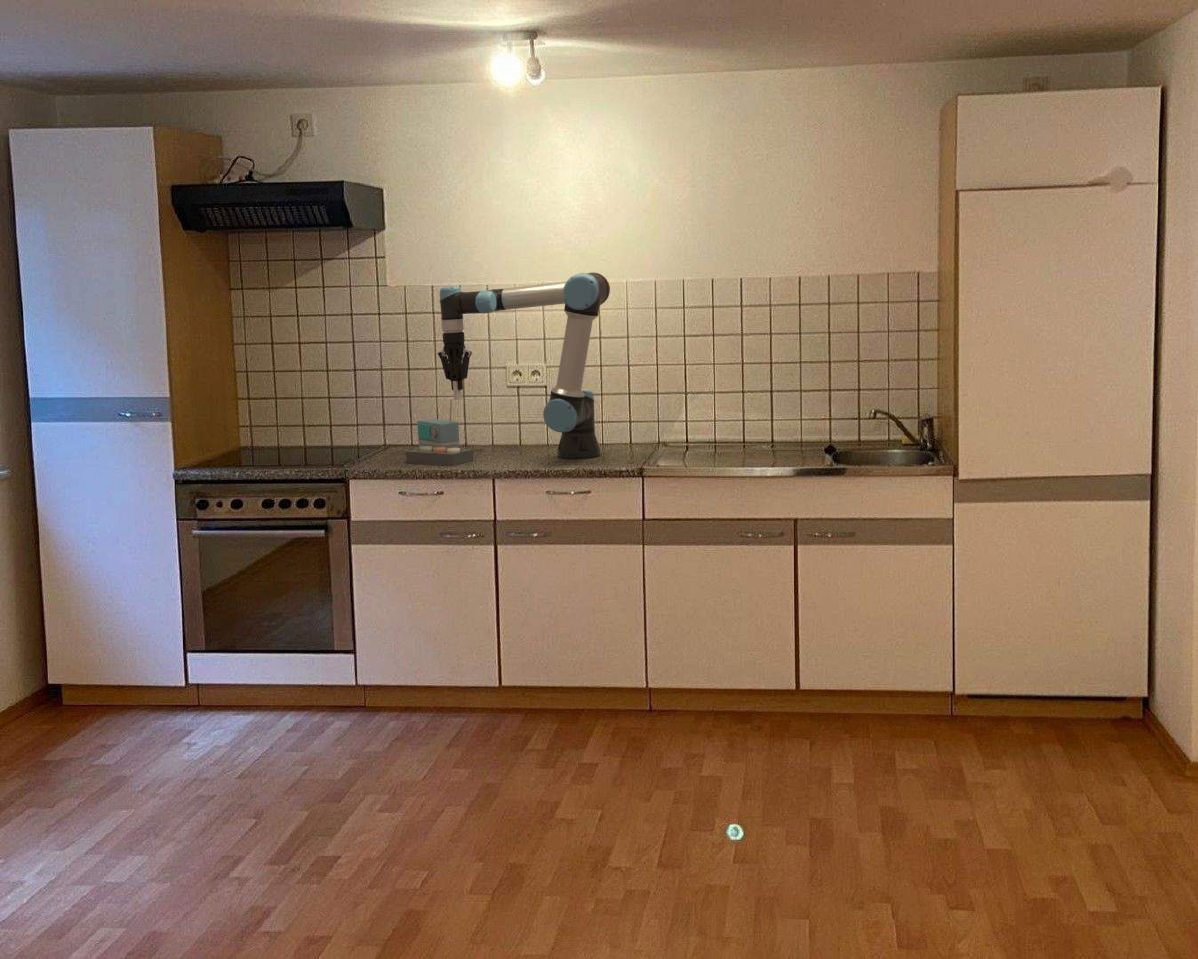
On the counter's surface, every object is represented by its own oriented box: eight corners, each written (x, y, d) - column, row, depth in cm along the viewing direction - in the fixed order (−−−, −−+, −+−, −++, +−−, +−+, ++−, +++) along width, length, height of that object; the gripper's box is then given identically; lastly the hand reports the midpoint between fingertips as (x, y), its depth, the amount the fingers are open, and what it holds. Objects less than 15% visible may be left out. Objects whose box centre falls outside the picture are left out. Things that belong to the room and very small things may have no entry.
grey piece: (473, 460, 511) (473, 449, 511) (452, 465, 501) (452, 454, 500) (427, 457, 521) (427, 446, 521) (406, 462, 511) (406, 451, 511)
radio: (416, 453, 535) (413, 398, 532) (437, 450, 540) (434, 396, 537) (438, 457, 523) (436, 401, 519) (460, 454, 528) (457, 399, 525)
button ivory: (462, 455, 509) (462, 447, 508) (455, 456, 505) (454, 449, 504) (452, 454, 511) (452, 447, 510) (444, 456, 507) (444, 449, 507)
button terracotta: (448, 454, 512) (448, 447, 511) (441, 455, 508) (440, 448, 508) (438, 453, 514) (438, 446, 513) (430, 455, 510) (430, 448, 510)
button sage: (434, 453, 515) (434, 446, 514) (427, 455, 511) (426, 447, 511) (424, 452, 517) (424, 445, 517) (417, 454, 513) (416, 447, 513)
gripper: (474, 330, 509) (479, 398, 512) (443, 331, 515) (448, 398, 519) (462, 332, 502) (467, 400, 506) (431, 333, 509) (436, 400, 512)
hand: (458, 399), depth 512 cm, fingers closed
